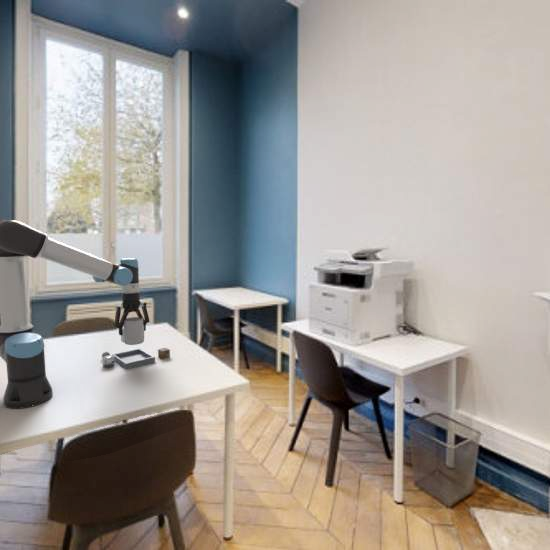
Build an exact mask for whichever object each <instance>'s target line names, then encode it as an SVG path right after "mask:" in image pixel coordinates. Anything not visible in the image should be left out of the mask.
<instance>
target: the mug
mask: <svg viewBox="0 0 550 550" xmlns="http://www.w3.org/2000/svg"><path fill="white" fill-rule="evenodd" d="M143 318H144V317H143ZM143 318H141V319H140V318H139V317H138V316H132V317H127V318H126V320H124V325H123V328H124V329H125V342H124V345H128V346H137V345H140V344H143V343H144V342H145V331H144V330H143Z"/></svg>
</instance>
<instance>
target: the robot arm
mask: <svg viewBox="0 0 550 550" xmlns="http://www.w3.org/2000/svg"><path fill="white" fill-rule="evenodd" d="M28 257H31V258H33V259H37V258H42V259H44V260H47V261H50V262H52V263H56V264H59V265H62V266H64V267H66V268H70V269H72V270H75V271H78V272H81V273H84V274H87V275H90V276H92V278H93V281H94V282H95V283H105V282H107V283H110V284H115V285H117V286H121V292H122V293H121V301H122V303H121V304H120V305H115V310H116V311H115V317H114V323H113V327H114V328H116V329H118V335H119V336H120V341H121V343H124V344H125V329H124V320H126V318H128V315H129V313H132V312H133V313H135V314H136V315H137V316H136V317H139V318H140V319H141V318H143V330H144V332H145V331H146V330H147V328H146V327H147V324H148V323H150V322H151V321H150V317H149V314H148V313H149V312H148V310H147V302H146V301H140V300H141V298H140V297H141V296H140V277H139V276H140V273H139V260H138V259H137V258H134V257H127V258H121V259H120V260H119V261H120V262H119V263H113V262H110V261H108V260H106V259H103V258H100V257H98V256H95V255H93V254H91V253H88V252H85V251H83V250H80V249H77V248H75V247H73V246H70V245H67V244H66V243H63V242H60V241H57V240H55V239H53V238H50V237H48V235H47V233H45V232H43V231H40V230H37V229H35V228H33V227H32V226H30V225H27V224H26V223H24V222H22V221H19V220H15V219H14V220H13V219H0V357H1V359H2V360H3V361H4V362H5V364H6V375H7V384H6V388H5V390H4V394H3V398H2V401H3V406H4V405H5V406H6V407H5V406H4V407H5V408H8V407H9V409H22V408H21V407H26V408H28V407H27V406H31V407H33V406H32V405H35V406H37V405H36V404H38V405H40V404H39V403H41V404H43V403H45V402H47V401H49V400H50V399H51V398H52V397H53V387H52V385H51V384H50V383H51V382H50V381H49V379H48V377H47V373H46V358H45V357H46V355H45V342H44V337H43V336H42V335H41V334H38V333H35V332H34V325H33V324H32V323H30V322H29V317H28V316H29V315H28V314H29V313H28V304H27V290H26V278H25V264H24V263H25V262H24V261H25V260H26V259H27V258H28ZM140 307H141V310H142V313H141V310H140V309H139V308H140ZM122 309H123V311H122ZM121 315H122V316H121ZM48 399H49V400H48ZM46 400H47V401H46ZM42 402H43V403H42Z"/></svg>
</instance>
